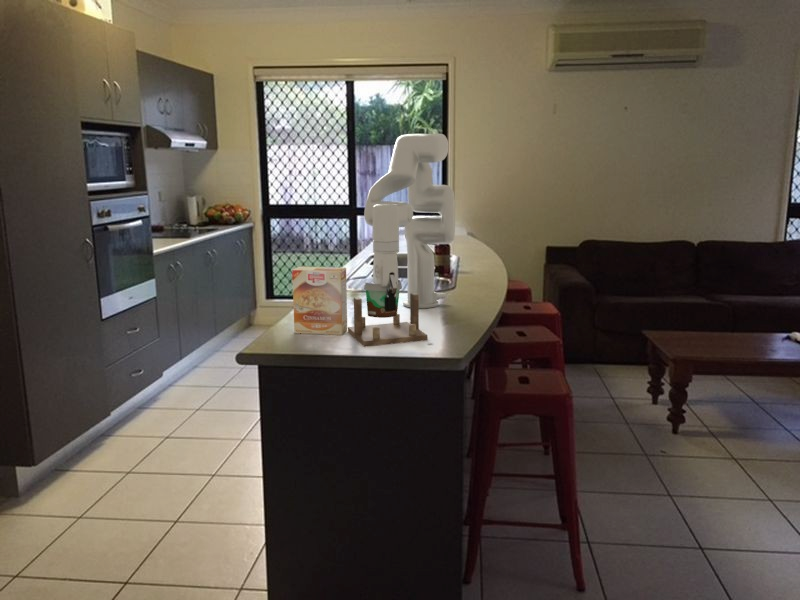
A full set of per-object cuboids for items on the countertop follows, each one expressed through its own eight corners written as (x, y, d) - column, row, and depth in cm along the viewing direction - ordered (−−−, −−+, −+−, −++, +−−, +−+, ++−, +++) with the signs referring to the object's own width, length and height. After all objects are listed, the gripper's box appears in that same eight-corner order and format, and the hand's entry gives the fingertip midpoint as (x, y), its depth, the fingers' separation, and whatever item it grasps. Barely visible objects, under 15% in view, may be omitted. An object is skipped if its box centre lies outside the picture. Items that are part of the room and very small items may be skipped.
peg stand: (406, 326, 207) (406, 288, 205) (427, 340, 191) (427, 299, 189) (348, 332, 201) (347, 293, 198) (364, 346, 185) (363, 304, 183)
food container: (376, 320, 188) (376, 285, 186) (363, 316, 193) (363, 282, 191) (410, 315, 195) (410, 281, 193) (397, 311, 200) (397, 278, 198)
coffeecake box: (293, 333, 199) (291, 269, 195) (300, 327, 206) (298, 265, 202) (342, 335, 197) (340, 270, 193) (347, 329, 204) (346, 266, 200)
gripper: (364, 244, 197) (365, 303, 201) (383, 251, 181) (383, 315, 185) (388, 243, 200) (389, 301, 204) (408, 250, 184) (408, 313, 188)
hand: (386, 307), depth 194 cm, fingers closed on food container, 5 cm apart
